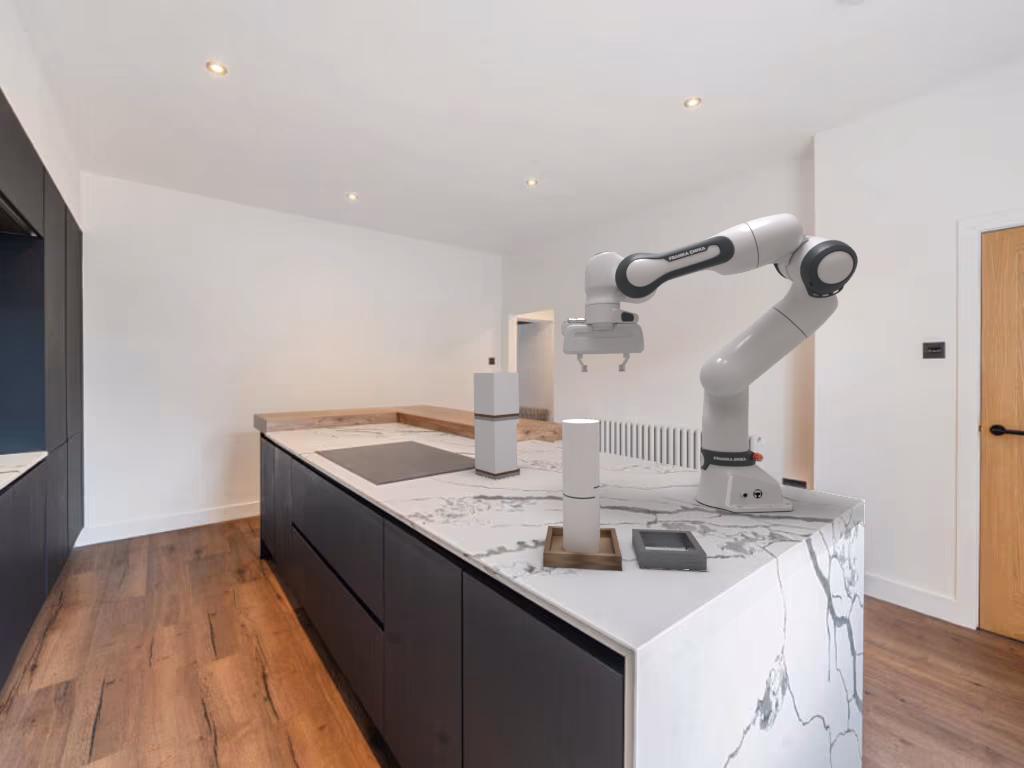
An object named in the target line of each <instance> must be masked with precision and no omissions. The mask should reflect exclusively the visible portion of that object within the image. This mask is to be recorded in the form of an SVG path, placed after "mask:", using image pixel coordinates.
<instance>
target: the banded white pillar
mask: <svg viewBox="0 0 1024 768" xmlns="http://www.w3.org/2000/svg"><path fill="white" fill-rule="evenodd" d="M519 378H520V377H519V372H513V371H511V372H505V371H504V372H473V409H474V410H473V411H474V412H473V419H474V425H473V427H474V472H475V473H474V474H475V475H477V474H479V475H478V476H480V475H482V476H481V477H483V476H485V477H484V478H487V477H488V478H487V479H490V478H492V479H491V480H493V479H495V481H497V480H496V479H498V480H502V479H501V478H503V479H506V477H507V478H511V477H510V476H512V477H516V476H515V475H517V476H521V469H520V468H518V430H517V429H518V428H517V427H518V426H517V425H518V424H520V384H519V383H520V382H519V381H520V380H519Z"/></svg>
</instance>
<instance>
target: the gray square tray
mask: <svg viewBox="0 0 1024 768" xmlns="http://www.w3.org/2000/svg"><path fill="white" fill-rule="evenodd" d="M631 544H632V547H633V550H635V551H634V554H635V553H636V554H635V555H636V556H637V557H636V556H635V557H636V560H637V563H638V567H639V568H640V569H650V568H663V569H662V570H670V569H689V570H688V571H690V570H707V571H708V567H707V566H708V563H707V561H708V560H707V559H708V554H707V552H705V550H704V548H703V547H702V546H701V545H700V543H699V541H698V540H697V539H696V537H695V535H694V534H693V533H692V531H691V530H673V529H672V530H670V529H649V528H648V529H646V528H645V529H643V528H632V529H631ZM656 546H661V547H662V546H663V548H679V547H686V548H685V550H676V549H675V550H673V549H670V550H669V549H652V548H651V549H648V548H646V547H656ZM665 546H666V547H665ZM687 550H688V551H687Z"/></svg>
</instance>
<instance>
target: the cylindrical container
mask: <svg viewBox="0 0 1024 768" xmlns="http://www.w3.org/2000/svg"><path fill="white" fill-rule="evenodd" d="M561 432H562V433H561V446H562V447H561V449H562V455H561V456H562V458H561V459H562V462H561V463H562V526H563V548H564V550H565V551H566V552H585V553H598V552H599V551H600V528H601V501H600V500H601V497H600V496H601V494H600V490H601V489H600V486H601V485H600V484H601V483H600V481H601V480H600V479H601V478H600V473H601V469H600V420H597V419H589V418H573V419H572V418H569V419H563V420H562V421H561Z"/></svg>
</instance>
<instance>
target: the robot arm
mask: <svg viewBox="0 0 1024 768" xmlns="http://www.w3.org/2000/svg"><path fill="white" fill-rule="evenodd" d="M801 222H802V221H800V219H799V218H798V217H797V216H796V215H794V214H791V213H786V212H785V213H784V212H783V213H778V214H772V215H766V216H763V217H759V218H755V219H751V220H748V221H746V222H742V223H739V224H737V225H733V226H732V227H730V228H727V229H724V230H722V231H721V232H717V233H716V234H714V235H713V236H710V237H708V238H706V239H703V240H700V241H698V242H696V241H695V242H693V243H690V244H686V245H684V246H680V247H677V248H673V249H670V250H668V251H664V252H657V253H654V252H652V253H651V252H635V253H631V254H629V255H628V256H626V257H623V256H621V255H619V254H618V252H616V251H608V250H607V251H602V252H598V253H596V254H594V255H593V256H591V257H590V258H589V259H587V262H586V265H585V271H584V292H585V297H586V299H585V304H584V317H581V318H567V320H565V321H563V322H562V324H561V335H563V343H562V344H563V345H562V346H563V347H562V352H563V353H564V354H565V355H576V359H577V361H578V363H579V365H580V366H581V373H588V365H587V364H584V362H583V361H582V359H583V358H584V357H583V355H607V354H614V355H616V354H618V355H619V354H622V358H624V360H623V361H622V363H621V364H618V372H620V373H621V372H626V365H627V362H628V361H629V359H630V354H641V353H642V352H643V351H644V349H645V340H644V333H643V329H642V326H641V325H640V324H638V322H639V314H638V313H636V312H635V313H634V312H631V311H628V310H624V309H621V302H624V303H630V304H636V305H638V304H643V303H644V304H645V303H647V302H648V301H650V300H651V299H652V298H653V297H654V296H655V295H656V292H657V290H658V288H659V287H661V286H662V285H663V284H665V283H666V282H669V281H672V280H674V279H678V278H681V277H684V276H688V275H691V274H695V273H698V272H702V271H713V272H715V273H717V274H719V275H722V276H732V275H737V274H742V273H746V272H747V273H748V272H750V271H753V270H756V269H759V268H762V267H765V266H767V265H772V264H773V266H774V268H775V270H776V272H777V273H778V274H779V275H780V276H781V277H782V278H784V279H787V280H789V281H791V282H792V283H791V285H790V288H789V290H788V292H787V293H786V295H784V296H783V298H782V299H781V300H779V301H778V302H776V303H775V304H774V305H773V306H772V307H770V309H768V310H767V311H766V312H764V313H763V314H762V315H761V316H760V317H759V318H758V319H756V320H755V321H754V322H753V323H752V324H751V325H749V326H748V327H747V328H746V329H745V330H743V331H742V332H741V333H739V334H738V335H737V336H736V337H735V338H733V339H732V340H731V341H729V342H728V343H727V344H726V345H725V346H723V347H722V348H721V349H720V350H718V351H716V353H715V354H714V355H712V356H711V357H710V358H709V359H708V360H706V361H705V362H704V364H703V365H702V367H701V369H700V372H699V380H700V385H701V386H702V388H703V405H702V417H701V422H702V423H701V440H702V441H701V447H700V451H699V465H700V466H699V467H700V469H701V471H700V478H699V479H700V480H699V484H698V488H697V492H696V495H695V500H696V501H697V502H699V503H701V504H703V505H706V506H710V507H713V508H718V509H722V510H726V511H730V512H733V513H758V512H759V513H760V512H761V513H763V512H764V513H765V512H788V511H789V512H790V511H793V510H794V506H793V503H792V502H791V501H790V500H788V499H787V498H785V497H783V492H782V489H781V486H780V482H779V481H778V480H777V479H776V478H774V476H772V475H771V474H769V473H768V472H767V471H765V470H764V469H763V468H762V467H760V466H759V465H757V464H756V463H759V462H760V463H761V462H763V460H764V455H763V454H761V453H759V452H754V451H753V450H751V449H749V407H750V406H749V405H750V404H749V402H750V400H749V399H750V398H749V397H750V396H749V393H750V392H749V391H750V390H749V389H750V388H749V387H750V386H751V384H752V383H754V382H755V381H756V380H758V378H760V377H761V376H762V375H764V374H765V373H766V372H767V371H768V370H769V369H771V368H772V367H773V366H775V364H777V363H778V362H780V361H781V360H782V359H784V357H786V356H787V355H788V354H789V353H791V352H792V351H793V350H795V349H796V348H797V347H798V346H799V345H801V344H802V343H803V342H804V341H806V340H807V339H808V338H809V337H810V336H812V335H813V334H814V333H816V332H817V330H819V329H820V328H821V326H823V325H824V324H825V323H826V322H827V321H828V320H829V318H830V317H832V315H833V314H834V313H835V312H836V310H837V309H838V306H839V300H838V297H837V294H839V293H841V292H842V290H843V289H844V287H845V285H846V284H848V282H849V281H850V280H851V279H852V277H853V276H854V274H855V272H856V271H857V270H856V269H857V267H858V261H859V260H858V255H857V253H856V251H855V250H854V249H853V248H852V247H851V246H850V245H848V243H846V242H844V241H842V240H838V239H837V240H836V239H833V238H829V237H825V236H819V235H818V236H814V235H807V234H805V233H804V227H803V225H802V223H801Z"/></svg>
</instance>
